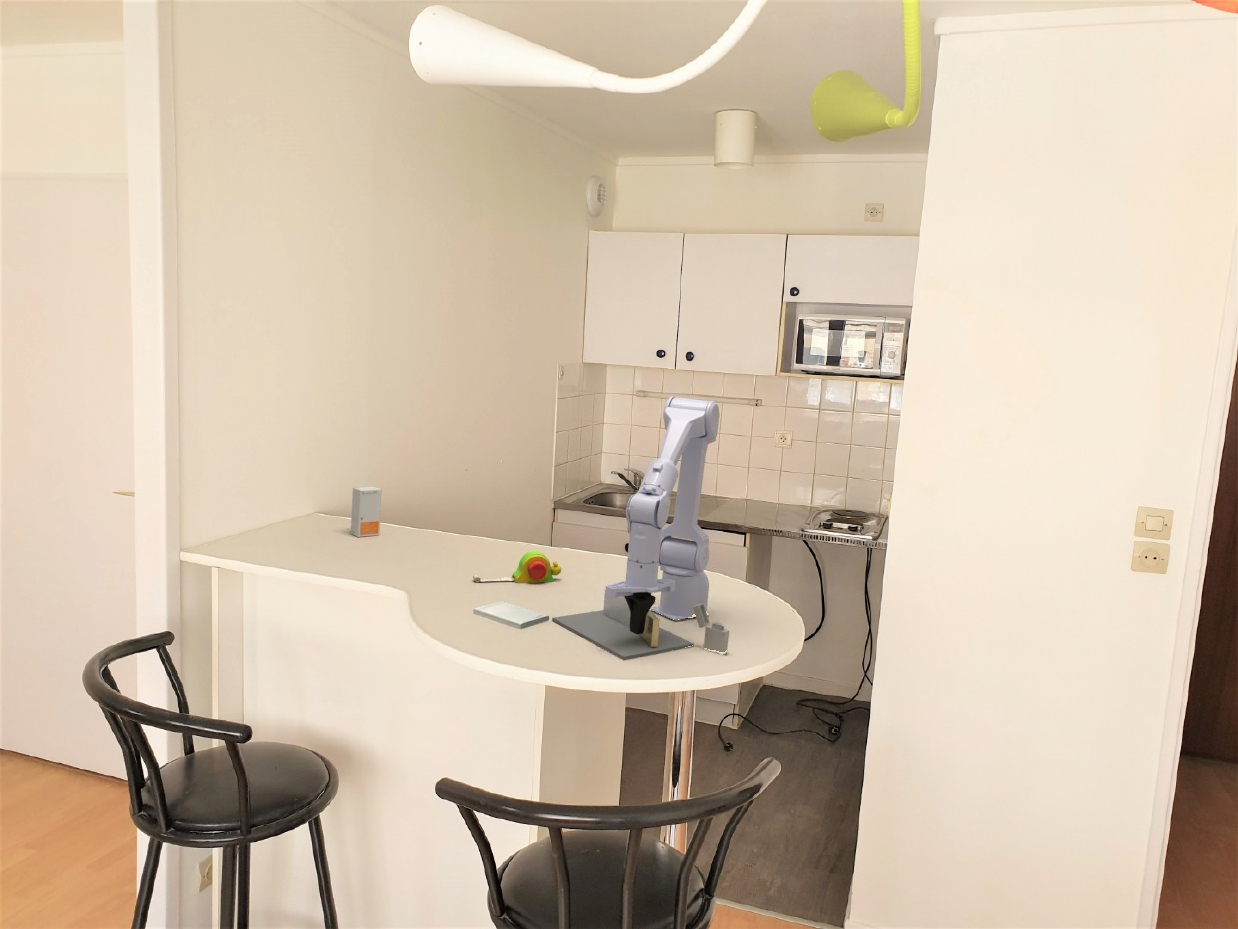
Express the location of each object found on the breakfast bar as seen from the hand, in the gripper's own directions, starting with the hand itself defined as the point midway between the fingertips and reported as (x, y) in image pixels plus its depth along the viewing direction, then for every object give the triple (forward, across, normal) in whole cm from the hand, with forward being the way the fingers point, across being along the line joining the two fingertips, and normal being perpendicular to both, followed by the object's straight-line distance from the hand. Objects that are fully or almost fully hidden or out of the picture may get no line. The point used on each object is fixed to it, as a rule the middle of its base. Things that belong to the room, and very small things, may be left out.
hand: (636, 632), depth 170 cm
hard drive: (+3, -13, +23) cm, 26 cm away
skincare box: (+2, -14, +94) cm, 95 cm away
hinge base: (+2, +1, +6) cm, 6 cm away
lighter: (+2, +11, -8) cm, 14 cm away
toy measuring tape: (+2, +1, +44) cm, 44 cm away
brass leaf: (+1, +2, +1) cm, 3 cm away
